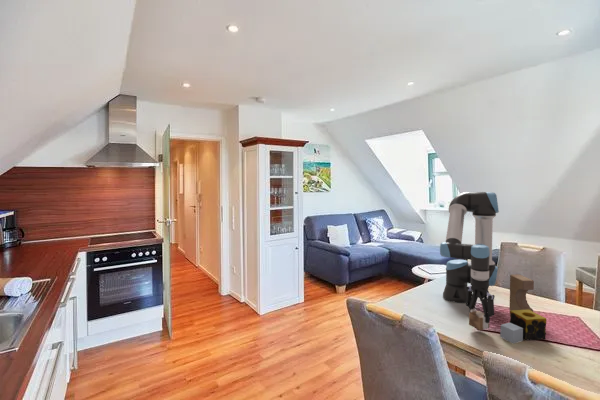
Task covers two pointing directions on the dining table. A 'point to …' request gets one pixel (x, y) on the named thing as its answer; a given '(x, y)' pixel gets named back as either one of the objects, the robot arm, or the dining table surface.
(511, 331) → the slate block
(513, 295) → the decorative block
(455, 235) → the robot arm
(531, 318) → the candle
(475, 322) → the walnut cube
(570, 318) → the dining table surface
